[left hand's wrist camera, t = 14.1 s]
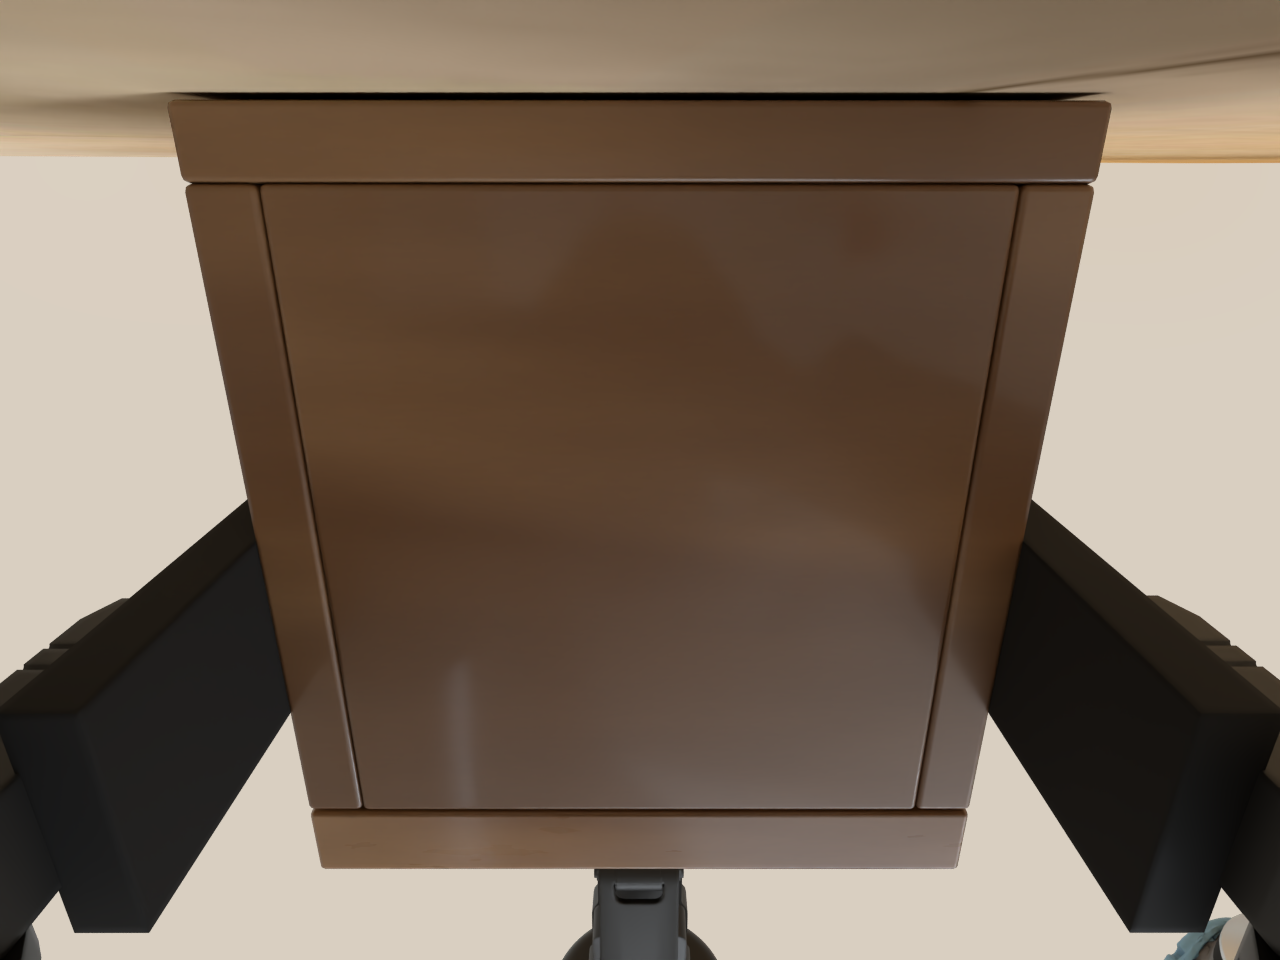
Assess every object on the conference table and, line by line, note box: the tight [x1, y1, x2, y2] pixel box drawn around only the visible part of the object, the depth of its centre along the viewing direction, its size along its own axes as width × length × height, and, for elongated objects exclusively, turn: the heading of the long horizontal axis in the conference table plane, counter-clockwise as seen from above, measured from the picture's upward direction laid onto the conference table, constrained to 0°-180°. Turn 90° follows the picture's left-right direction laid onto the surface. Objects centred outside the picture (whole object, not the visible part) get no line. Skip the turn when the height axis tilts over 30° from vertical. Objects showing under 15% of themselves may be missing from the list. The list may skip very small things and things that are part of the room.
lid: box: [311, 804, 967, 869], centre depth 21 cm, size 16×10×8 cm, turn 0°
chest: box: [168, 100, 1111, 809], centre depth 17 cm, size 16×10×10 cm, turn 0°
